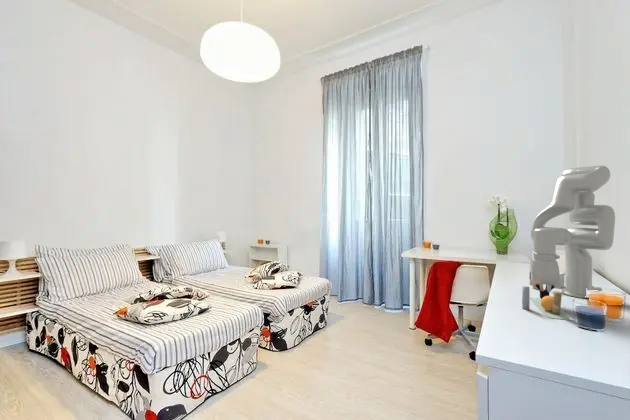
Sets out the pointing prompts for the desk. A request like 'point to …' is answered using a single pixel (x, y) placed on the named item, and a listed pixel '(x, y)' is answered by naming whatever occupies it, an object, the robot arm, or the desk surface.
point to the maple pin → (556, 303)
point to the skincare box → (561, 280)
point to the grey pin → (525, 298)
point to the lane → (549, 314)
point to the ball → (547, 303)
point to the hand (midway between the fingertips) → (544, 300)
